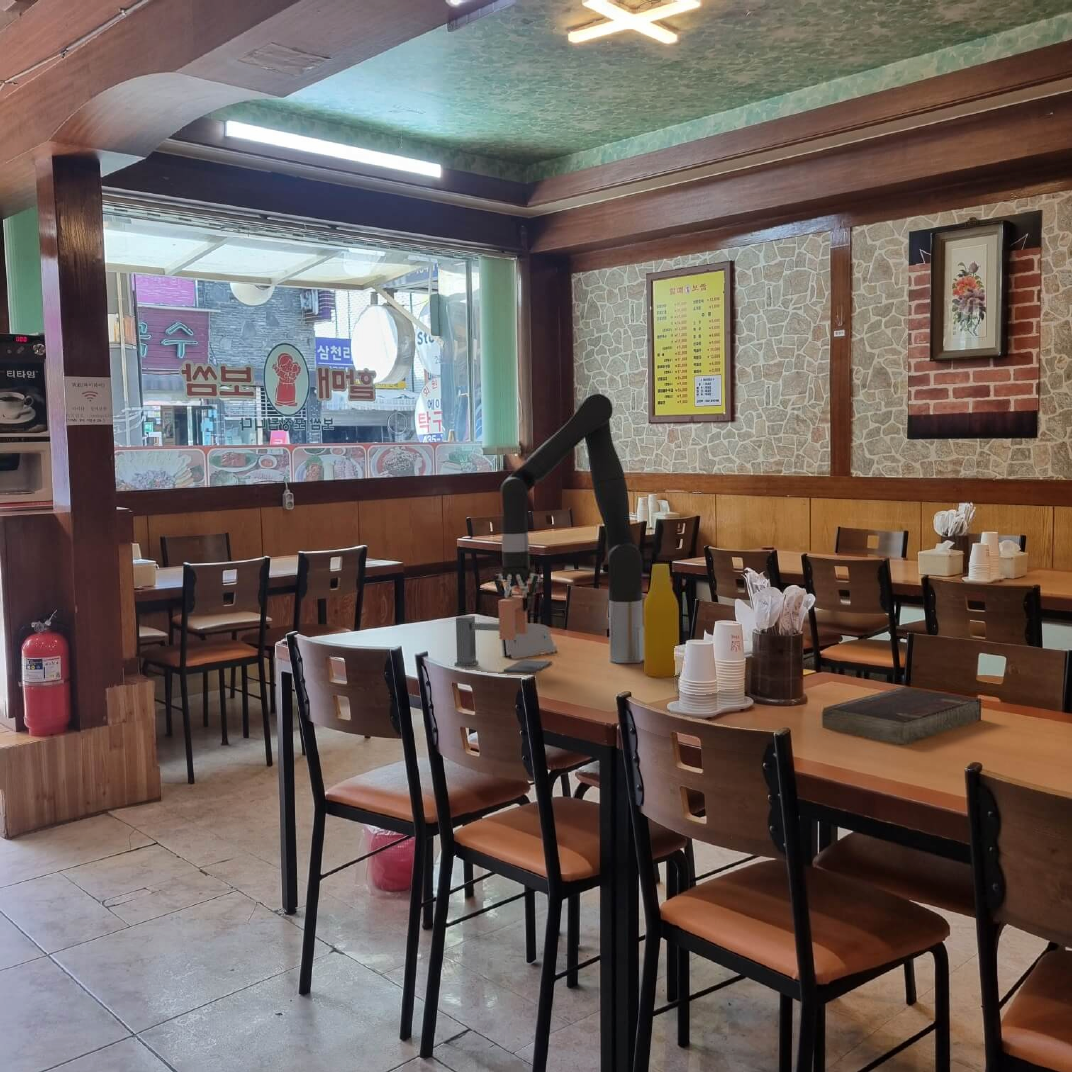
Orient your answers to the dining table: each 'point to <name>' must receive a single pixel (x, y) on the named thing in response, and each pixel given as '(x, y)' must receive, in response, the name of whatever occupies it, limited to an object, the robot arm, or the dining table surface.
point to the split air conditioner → (529, 642)
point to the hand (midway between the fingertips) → (517, 610)
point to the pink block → (512, 617)
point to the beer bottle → (660, 625)
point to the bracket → (469, 638)
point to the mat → (527, 666)
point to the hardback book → (902, 715)
